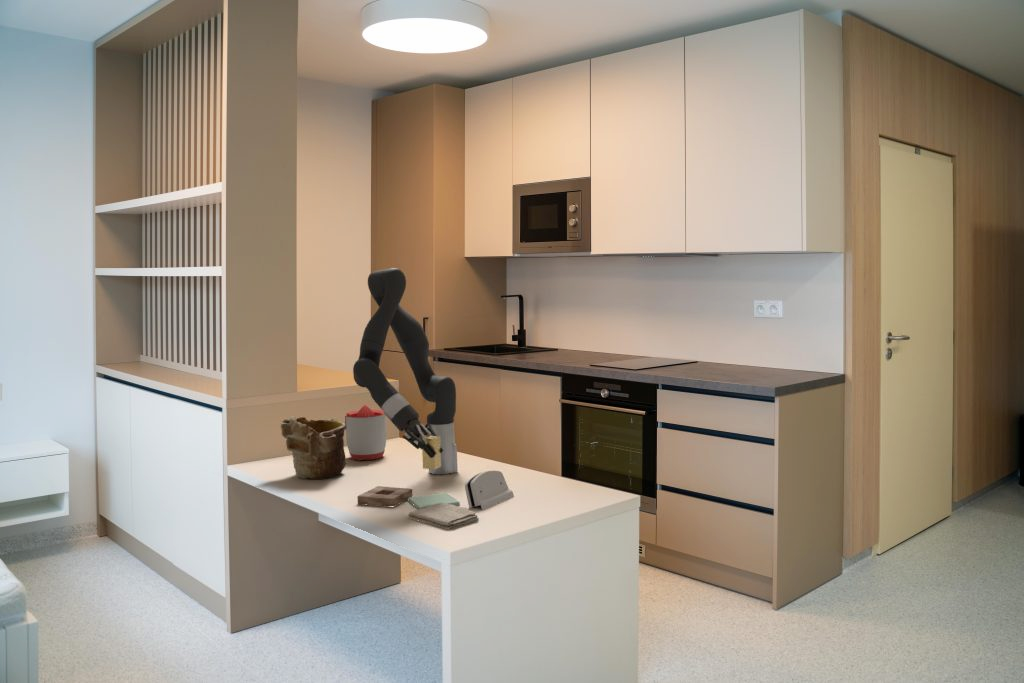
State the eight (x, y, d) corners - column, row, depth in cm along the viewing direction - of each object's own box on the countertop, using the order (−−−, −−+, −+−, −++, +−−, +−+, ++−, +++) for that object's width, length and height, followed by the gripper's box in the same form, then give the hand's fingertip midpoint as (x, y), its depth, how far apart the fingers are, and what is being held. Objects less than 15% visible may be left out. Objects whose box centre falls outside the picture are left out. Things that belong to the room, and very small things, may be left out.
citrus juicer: (343, 454, 317) (341, 403, 315) (389, 452, 319) (386, 401, 317) (339, 463, 302) (336, 409, 300) (387, 461, 303) (385, 407, 302)
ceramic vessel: (382, 447, 287) (342, 397, 274) (338, 501, 275) (294, 452, 262) (344, 438, 303) (305, 391, 290) (301, 489, 291) (258, 442, 278)
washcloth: (450, 532, 218) (449, 521, 217) (406, 520, 230) (405, 509, 230) (481, 521, 226) (481, 510, 226) (437, 510, 239) (437, 500, 238)
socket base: (378, 494, 257) (378, 486, 257) (412, 496, 252) (412, 488, 252) (357, 504, 246) (357, 496, 245) (393, 507, 241) (392, 498, 241)
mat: (446, 495, 253) (446, 492, 253) (459, 505, 242) (459, 501, 242) (408, 500, 248) (408, 497, 248) (420, 510, 237) (420, 507, 237)
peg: (429, 465, 246) (428, 435, 246) (441, 466, 245) (440, 436, 244) (422, 468, 243) (421, 438, 242) (435, 469, 241) (434, 439, 241)
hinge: (482, 510, 236) (472, 476, 237) (470, 513, 238) (460, 480, 240) (514, 496, 250) (504, 464, 251) (502, 499, 252) (492, 468, 253)
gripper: (395, 407, 239) (434, 450, 235) (418, 400, 252) (455, 441, 248) (380, 424, 241) (418, 468, 237) (404, 416, 254) (440, 457, 251)
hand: (437, 454), depth 243 cm, fingers closed on peg, 4 cm apart
